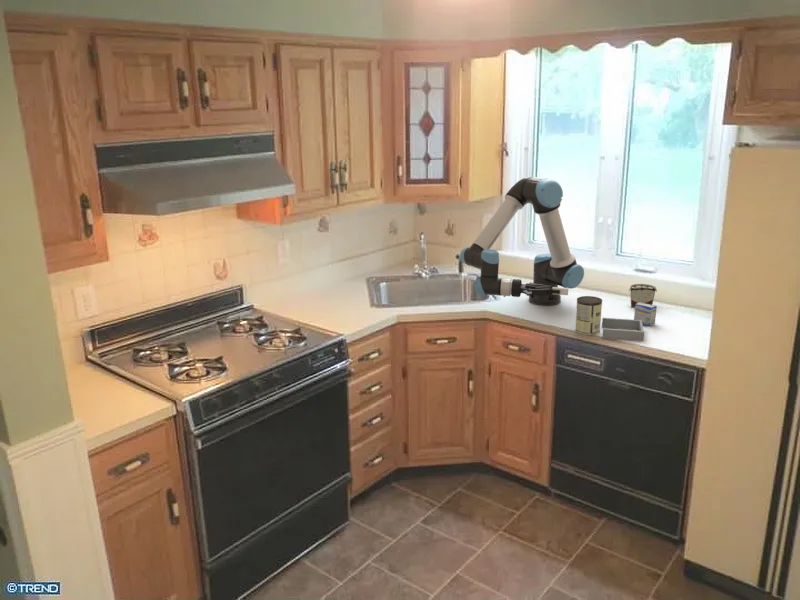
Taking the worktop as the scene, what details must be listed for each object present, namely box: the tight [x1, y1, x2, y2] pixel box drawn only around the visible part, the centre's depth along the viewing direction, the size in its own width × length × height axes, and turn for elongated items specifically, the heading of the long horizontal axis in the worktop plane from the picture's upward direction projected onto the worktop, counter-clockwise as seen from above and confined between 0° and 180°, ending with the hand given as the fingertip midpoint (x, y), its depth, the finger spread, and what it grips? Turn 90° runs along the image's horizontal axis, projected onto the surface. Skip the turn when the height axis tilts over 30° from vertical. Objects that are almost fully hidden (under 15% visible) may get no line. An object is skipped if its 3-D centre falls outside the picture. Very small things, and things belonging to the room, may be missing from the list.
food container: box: [628, 283, 658, 309], centre depth 320 cm, size 12×6×10 cm, turn 84°
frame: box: [601, 317, 645, 342], centre depth 285 cm, size 16×15×4 cm
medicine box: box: [633, 302, 657, 327], centre depth 296 cm, size 8×4×9 cm, turn 44°
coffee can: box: [575, 295, 603, 336], centre depth 287 cm, size 10×10×14 cm
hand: (568, 291), depth 286 cm, fingers closed
